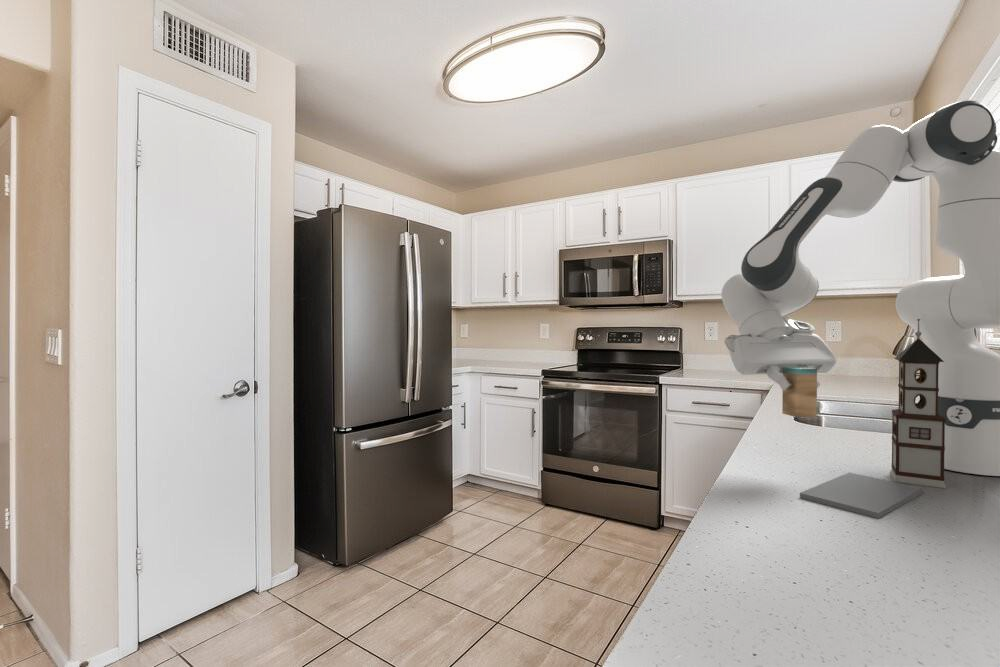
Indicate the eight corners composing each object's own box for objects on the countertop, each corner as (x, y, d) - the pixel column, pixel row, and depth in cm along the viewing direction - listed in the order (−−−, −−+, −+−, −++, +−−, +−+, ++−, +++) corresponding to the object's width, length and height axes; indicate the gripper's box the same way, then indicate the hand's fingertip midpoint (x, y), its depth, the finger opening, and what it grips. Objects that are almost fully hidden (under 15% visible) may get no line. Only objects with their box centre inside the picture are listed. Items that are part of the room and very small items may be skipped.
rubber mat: (849, 476, 95) (849, 472, 95) (922, 492, 86) (922, 487, 86) (799, 497, 83) (799, 492, 83) (878, 518, 74) (878, 512, 74)
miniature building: (893, 481, 92) (895, 318, 92) (889, 472, 98) (891, 318, 97) (946, 488, 88) (948, 318, 88) (938, 478, 94) (940, 318, 94)
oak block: (782, 413, 97) (782, 367, 97) (801, 412, 98) (801, 367, 98) (797, 417, 93) (797, 369, 93) (816, 416, 94) (817, 368, 94)
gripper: (727, 324, 101) (759, 378, 91) (819, 324, 104) (859, 376, 94) (715, 346, 105) (744, 399, 96) (802, 344, 108) (839, 396, 99)
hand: (801, 387), depth 95 cm, fingers closed on oak block, 4 cm apart
